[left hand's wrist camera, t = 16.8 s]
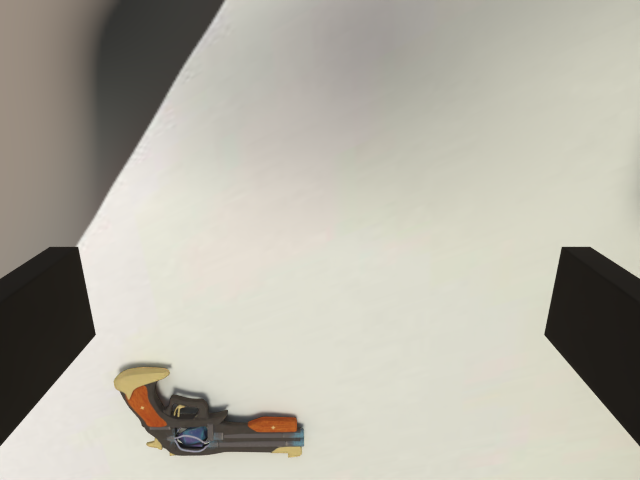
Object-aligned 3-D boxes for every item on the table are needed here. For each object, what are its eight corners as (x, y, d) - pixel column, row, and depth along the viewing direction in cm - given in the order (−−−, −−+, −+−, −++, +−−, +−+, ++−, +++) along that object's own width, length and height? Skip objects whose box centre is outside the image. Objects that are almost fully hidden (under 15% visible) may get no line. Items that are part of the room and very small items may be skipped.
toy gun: (108, 376, 43) (114, 466, 45) (307, 377, 45) (303, 464, 47) (119, 362, 46) (124, 447, 48) (306, 364, 47) (302, 446, 49)
